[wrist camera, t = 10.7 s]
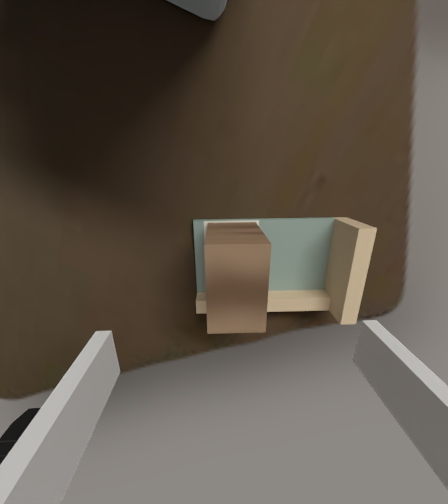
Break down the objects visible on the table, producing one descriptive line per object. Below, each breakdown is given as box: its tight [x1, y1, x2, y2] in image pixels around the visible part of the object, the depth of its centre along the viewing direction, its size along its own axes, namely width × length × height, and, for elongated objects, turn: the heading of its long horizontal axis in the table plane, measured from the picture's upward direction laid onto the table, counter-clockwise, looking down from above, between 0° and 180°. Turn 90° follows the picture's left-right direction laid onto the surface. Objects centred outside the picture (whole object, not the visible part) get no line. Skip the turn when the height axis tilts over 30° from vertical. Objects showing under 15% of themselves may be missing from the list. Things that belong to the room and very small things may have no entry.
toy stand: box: [193, 217, 377, 324], centre depth 24 cm, size 17×10×5 cm, turn 91°
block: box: [204, 222, 271, 334], centre depth 22 cm, size 8×5×8 cm, turn 0°
